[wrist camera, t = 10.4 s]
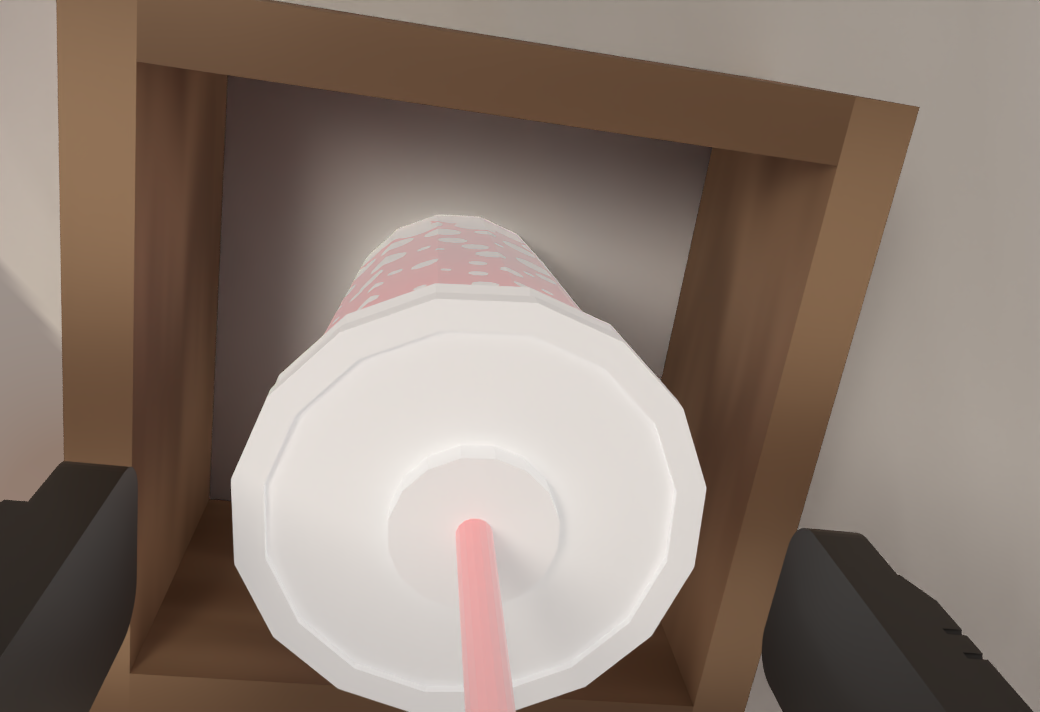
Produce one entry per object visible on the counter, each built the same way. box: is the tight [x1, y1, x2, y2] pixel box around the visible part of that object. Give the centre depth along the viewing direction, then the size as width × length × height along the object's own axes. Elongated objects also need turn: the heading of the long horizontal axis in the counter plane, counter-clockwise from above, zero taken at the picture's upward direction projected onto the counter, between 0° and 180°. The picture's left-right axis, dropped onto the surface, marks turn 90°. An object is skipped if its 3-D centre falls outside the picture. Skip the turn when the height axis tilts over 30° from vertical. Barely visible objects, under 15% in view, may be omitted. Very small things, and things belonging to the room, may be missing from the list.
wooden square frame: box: [56, 0, 919, 712], centre depth 17 cm, size 12×12×6 cm
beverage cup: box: [231, 215, 706, 712], centre depth 13 cm, size 6×6×14 cm
